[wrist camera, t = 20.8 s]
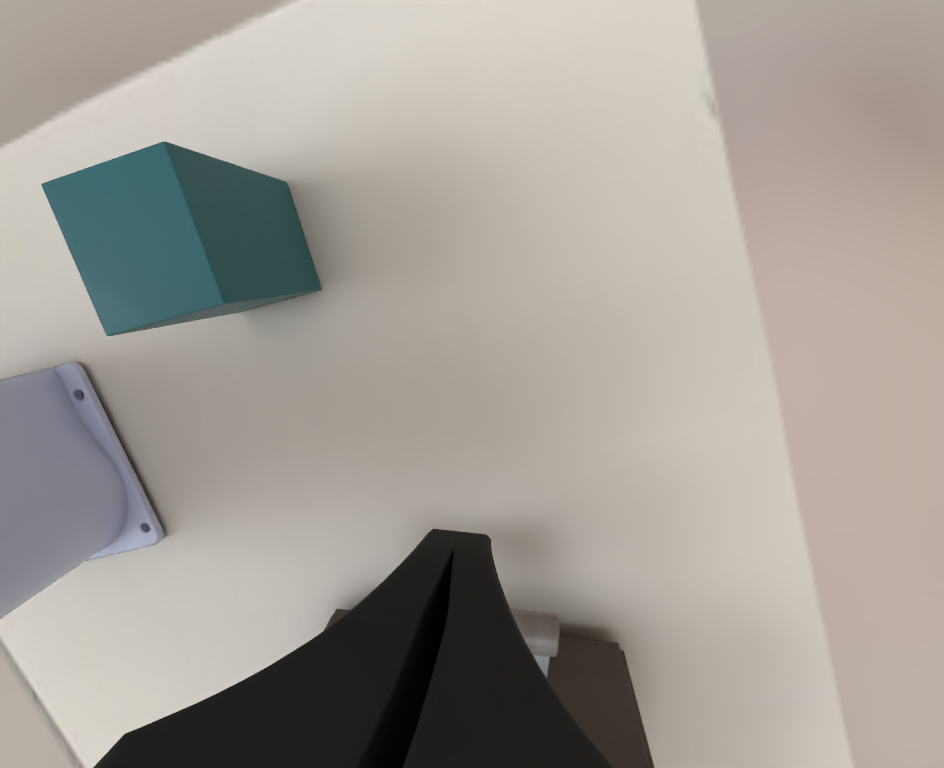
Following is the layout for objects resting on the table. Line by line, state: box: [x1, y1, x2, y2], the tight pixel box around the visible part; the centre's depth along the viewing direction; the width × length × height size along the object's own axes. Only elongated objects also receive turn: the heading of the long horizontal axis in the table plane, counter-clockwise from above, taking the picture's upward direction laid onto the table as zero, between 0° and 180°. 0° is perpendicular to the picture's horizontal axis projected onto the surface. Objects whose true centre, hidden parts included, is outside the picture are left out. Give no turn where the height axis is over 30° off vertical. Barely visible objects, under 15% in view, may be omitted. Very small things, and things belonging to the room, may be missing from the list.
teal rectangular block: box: [42, 142, 321, 336], centre depth 17 cm, size 4×4×7 cm
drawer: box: [326, 609, 650, 768], centre depth 21 cm, size 18×13×6 cm
